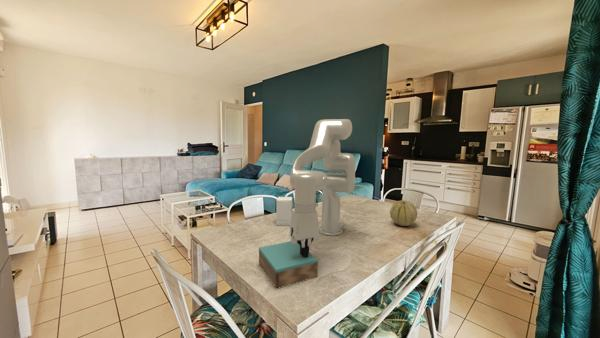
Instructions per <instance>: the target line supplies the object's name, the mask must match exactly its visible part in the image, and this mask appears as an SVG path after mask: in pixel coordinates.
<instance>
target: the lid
mask: <svg viewBox="0 0 600 338" xmlns="http://www.w3.org/2000/svg"><path fill="white" fill-rule="evenodd" d="M259 251H260V252H261V253H262V255H263V256H264V257H265V259H266V260H267V261H268V263H269V264H270V265H271V266H272V268H273V269H274V270H275V272H276V273H278V272H282V271H285V270H289V269H293V268H297V267H301V266H305V265H309V264H313V263H317V262H318V263H319V259H318V258H317V257H315V256H314V255H313V254H312V253H311V252H309V253H308V257H306V258H304V257H303V256H302V255H301V254H300V245H299V244H294V243H292V242H291V240H290V241H284V242H281V243H276V244H269V245H265V246H261V247H258V252H259Z"/></svg>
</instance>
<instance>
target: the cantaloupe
mask: <svg viewBox="0 0 600 338" xmlns="http://www.w3.org/2000/svg"><path fill="white" fill-rule="evenodd" d="M389 216H390V218H391V220H392V221H393V222H394V223H395V224H397V225H398V226H400V227H401V226H402V227H404V226H405V227H407V226H410V225H413V224H414V223H415V221H416V220H417V218H418V209H417V207H416V206H415V205H414V204H413V203H412V202H411V201H409V200H406V199H405V200H404V199H402V200H397V201H396V202H394V203H393V204H392V206H391V208H390V210H389Z"/></svg>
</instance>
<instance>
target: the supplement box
mask: <svg viewBox="0 0 600 338" xmlns="http://www.w3.org/2000/svg"><path fill="white" fill-rule="evenodd" d="M275 206H276V209H275V211H276V222H275V224H276V226H289V227H290V222H291V216H292V212H293V197H292V196H277V198H276V205H275Z"/></svg>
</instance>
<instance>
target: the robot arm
mask: <svg viewBox="0 0 600 338" xmlns="http://www.w3.org/2000/svg"><path fill="white" fill-rule="evenodd" d="M352 132H353V124H352V121H351V119H349V118H341V119H339V118H337V119H336V118H333V119H332V118H331V119H330V118H329V119H325V118H324V119H319V120H317V122H316V123H315V125H314V128H313V132H312V136H311V139H310V142H309V143H310V144H309V147H308V148H306V149H305V150H304V151H302V152H301V153H300V154H299V155H298V157H297V158H296V159H295V160H294V162H293V166H292V167H291V168H292V169H291V171H290V175H289V183H290V186H291V187H292V188H293V189H294V210H292V216H291V222H290V226H289V236H290V237H291V238H290V241H291V242H292V243H294V244H299V245H300V254H301V255H302V256H303V257H304V258H306V257H308V253H310V246H311V245H312V243H313V241H315V240H317V239H318V238H319V233H321V235H324V236H331V237H332V236H335V237H336V236H339V235H341V234H342V233H343V227H347V226H348V224H347V222H341V198H340V196H339V195H338V193H345V194H348V193H349V194H350V193H353V192H354V190H355V186H356V184H355V183H356V182H355V181H356V159H355V156H354V154H352V153H348V152H346V153H345V152H344V153H342V152H341V142H340V141H344V140H347V139H348V138H350V136H351V134H352ZM322 159H323V167H324V168H323V169H325V170H326V171H328V172H331V173H324V171H321V170H308V169H304V168H305V167H306V166H307V165H309V164H311V163H313V162H316V161H319V160H322ZM332 172H334V173H332ZM335 172H340V173H335ZM320 191H321V195H322V196H321V198H322V199H321V201H322V202H321V226H320V227H319V225H320V224H319V216H318V215H319V214H318V212H317V210H316V209H317V207H319V203H318V202H316V201H317V200H316V199H317V198H316V197H317V195H316V193H317V192H320Z"/></svg>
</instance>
